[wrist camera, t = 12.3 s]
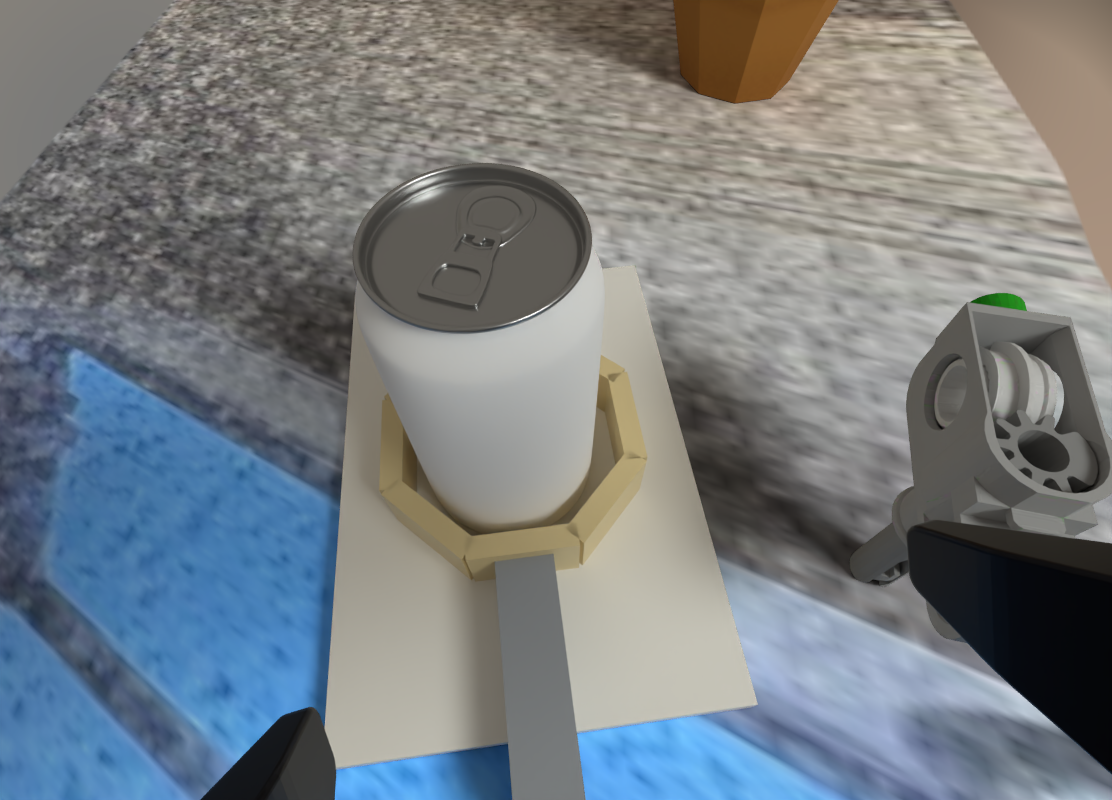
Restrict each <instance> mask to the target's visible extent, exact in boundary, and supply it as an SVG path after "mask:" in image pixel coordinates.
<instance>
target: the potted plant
mask: <svg viewBox="0 0 1112 800" xmlns="http://www.w3.org/2000/svg"><path fill="white" fill-rule="evenodd" d="M673 1H674V11H675V21H676V31H677V41H678V51H679V61H680V71H681V75H682V76H683V77H684V78H685V79H686V81H687V82H688V83H689V84H690V85H691V86H692V87H693V88H694V89H695V90H696V91H697V92H698V93H699V94H702V95H706V96H710V97H713V98H717V99H721V100H724V101H728V102H732V103H741V102H748V101H756V100H763V99H771V98H772V97H773V96H774V95H775V94H776V93H777V92H778V91H779V90H780V89H781V88H782V87H783V86H784V85H785V84H786V83H787V82H788V81H789V80H790V78H791V77H792V75H793V73H794V72H795V70H796V68H797V67H798V65H799V64H800V62H801V60H802V59H803V57H804V56H805V54H806V52H807V51H808V49H809V47H810V46H811V44H812V43H813V41H814V39H815V38H816V36H817V34H818V33H819V31H820V30H821V28H822V26H823V25H824V23H825V22H826V20H827V18H828V17H829V15H830V13H831V12H832V10H833V9H834V7H835V5H836V4H837V2H838V0H673Z"/></svg>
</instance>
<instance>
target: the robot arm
mask: <svg viewBox="0 0 1112 800" xmlns="http://www.w3.org/2000/svg"><path fill="white" fill-rule="evenodd" d="M906 539H907V553H908V567H909V576H910V579H911V581H912V583H913V585H914V587H915V588H916V590H917V591H918V592H919V593H920V594H921V595H922V596H923V597H924V598H925V600H926V601H927V602H928V603H929V604H930V605H931V606H932V607H933V608H934V609H935V610H936V611H937V612H938V613H939V614H940V615H941V616H942V617H943V618H944V619H945V620H946V621H947V622H948V623H949V624H950V626H951V627H952V628H953V629H954V630H955V631H956V632H957V633H958V634H959V635H960V636H961V637H962V638H963V639H964V640H965V641H966V642H967V643H968V644H969V645H970V646H971V647H972V648H973V649H974V650H975V652H976V653H977V654H978V655H979V656H980V657H981V658H982V659H983V660H984V661H985V662H986V663H987V664H988V665H989V666H990V667H991V668H992V669H993V670H994V671H995V672H997V673H998V674H999V675H1000V676H1001V677H1002V678H1003V679H1004V680H1005V681H1006V682H1007V683H1009V684H1010V685H1011V686H1012V687H1013V688H1014V689H1015V690H1016V691H1018V692H1019V693H1020V694H1021V695H1022V696H1023V697H1024V698H1025V699H1027V700H1028V701H1029V702H1030V703H1031V704H1032V705H1033V706H1035V707H1036V708H1037V709H1038V710H1039V711H1040V712H1041V713H1043V714H1044V715H1045V716H1046V717H1047V718H1048V719H1049V720H1050V721H1052V722H1053V723H1054V724H1055V725H1056V726H1057V727H1058V728H1060V729H1061V730H1062V731H1063V732H1064V733H1065V734H1066V735H1068V736H1069V737H1070V738H1071V739H1072V740H1073V741H1074V742H1075V743H1077V744H1078V745H1079V746H1080V747H1081V748H1082V749H1083V750H1085V751H1086V752H1087V753H1088V754H1089V755H1090V756H1091V757H1093V758H1094V759H1095V760H1096V761H1097V762H1098V763H1099V764H1100V765H1102V766H1103V767H1104V768H1105V769H1106V770H1107V771H1108V772H1110V773H1111V774H1112V544H1111V543H1104V542H1097V541H1090V540H1082V539H1075V538H1068V537H1060V536H1053V535H1046V534H1038V533H1031V532H1024V531H1016V530H1009V529H1002V528H994V527H987V526H980V525H973V524H965V523H958V522H951V521H943V520H930V521H926V522H923V523H920V524H916V525H913V526H911V527H910V528H909V529H908V531H907V534H906ZM335 784H336V764H335V758H334V754H333V751H332V749H331V746H330V743H329V740H328V737H327V735H326V732H325V729H324V726H323V723H322V721H321V718H320V715H319V713H318V712H317V710H316V709H314V708H312V707H308V708H305V709H301V710H298V711H295V712H291V713H288V714H285V715H283V716H281V717H280V718H279V719H278V720H277V721H276V722H275V723H274V724H273V725H272V726H271V727H270V728H269V729H268V730H267V731H266V732H265V734H264V735H263V736H262V737H261V738H260V739H259V740H258V741H257V742H256V743H255V744H254V745H253V746H252V747H251V748H250V749H249V750H248V751H247V752H246V753H245V754H244V755H243V756H242V757H241V758H240V759H239V760H238V761H237V762H236V763H235V764H234V766H233V767H232V768H231V769H230V770H229V771H228V772H227V773H226V774H225V775H224V776H223V777H222V778H221V779H220V780H219V781H218V782H217V783H216V784H215V785H214V786H213V787H212V788H211V789H210V790H209V791H208V792H207V793H206V794H205V795H204V796H203V798H202V799H201V800H334V799H335Z"/></svg>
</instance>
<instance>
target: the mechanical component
mask: <svg viewBox="0 0 1112 800" xmlns="http://www.w3.org/2000/svg"><path fill="white" fill-rule="evenodd" d="M1052 370H1053V371H1054V372H1056V373H1057V375H1058V376H1059V377H1060V379H1061V382H1062V384H1063V389H1064V405H1063V410H1062V414H1061V416H1060V419H1059V422H1058V423H1057V425H1056V427H1055V429H1054V422H1055V419H1054V417H1053V414H1054V410H1055V406H1056V401H1057V384H1056V379H1055V375H1054V373H1053V371H1052ZM906 412H907V422H908V432H909V441H910V451H911V461H912V471H913V480H914V486H913V487H910V488H908V489H906V490H904V491H903V492H901V493H900V494H899V495H898V496H897V498H896V499H895V501H894V503H893V507H892V523H891V524H890V525H888V526H887V527H886V528H885V529H883V530H882V531H881V532H879V533H878V534H877V535H876V536H874V537H873V538H872V539H870V540H869V541H868V542H867V543H865V544H864V545H863V546H861V547H860V548H859V549H858V550H856V551H855V552H854V553H853V554H852V556H851V558H850V569H851V572H852V574H853V576H854V577H855V578H856V580H859V581H861V582H866V583H868V582H870V581H871V580H873V579H875V580H879V586H881V587H886V586H888V585H890V584H892V583H893V582H895V581H897V580H898V579H900V578H902V577H903V576H905V575H907V574H908V573H909V567H908V553H907V539H906V534H907V531H908V529H909V528H910V527H911V526H913V525H916V524H920V523H923V522H926V521H930V520H943V521H951V522H958V523H965V524H973V525H980V526H987V527H994V528H1002V529H1009V530H1016V531H1024V532H1031V533H1038V534H1046V535H1053V536H1060V537H1068V538H1075V535H1077V534H1079V533H1082V532H1084V531H1086V530H1088V529H1090V528H1092V527H1094V526H1096V525H1098V523H1097V519H1096V515H1095V512H1094V508H1093V504H1095V503H1097V502H1098V501H1100V500H1102V499H1104V498H1106V497H1108V496H1109V495H1110V494H1111V493H1112V440H1111V439H1110V437H1109V436H1108V434H1107V433H1106V431H1105V428H1104V425H1103V421H1102V418H1101V415H1100V412H1099V408H1098V405H1097V402H1096V399H1095V395H1094V392H1093V389H1092V385H1091V382H1090V379H1089V376H1088V372H1087V369H1086V366H1085V363H1084V359H1083V356H1082V353H1081V350H1080V346H1079V343H1078V340H1077V336H1076V333H1075V330H1074V327H1073V323H1072V320H1071V318H1070V317H1064V316H1057V315H1050V314H1043V313H1036V312H1030V311H1027V310H1026V306H1025V302H1024V301H1023V300H1022V299H1021V298H1020V297H1018V296H1016V295H1013V294H1008V293H995V294H989V295H985V296H982V297H979V298H977V299H975V300H973V301H971V302H970V303H969V302H967V303H966V304H965V305H964V306H963V307H962V309H961V310H960V311H959V312H958V313H957V315H956V316H955V317H954V318H953V319H952V320H951V322H950V323H949V324H948V325H947V326H946V328H945V329H944V330H943V331H942V332H941V333H940V335H939V336H938V337H937V338H936V341H935V344H934V346H933V347H932V348H931V349H930V351H929V352H928V353H927V354H926V355H925V357H924V358H923V359H922V360H921V361H920V363H919V364H918V366H917V368H916V369H915V371H914V373H913V376H912V378H911V381H910V384H909V388H908V393H907V400H906ZM926 605H927V610H928V614H929V617H930V620H931V622H932V625H933V626H934V628H935V629H936V631H937V632H938V633H939V634H940V635H941V636H943V637H944V638H946V639H951V640H955V641H960V642H965V643H967V642H966V641H965V640H964V639H963V638H962V637H961V636H960V635H959V634H958V633H957V632H956V631H955V630H954V629H953V628H952V627H951V626H950V624H949V623H948V622H947V621H946V620H945V619H944V618H943V617H942V616H941V615H940V614H939V613H938V612H937V611H936V610H935V609H934V608H933V607H932V606H931V605H930V604H929V603H928V602H927V601H926Z"/></svg>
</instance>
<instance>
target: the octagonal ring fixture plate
mask: <svg viewBox="0 0 1112 800" xmlns="http://www.w3.org/2000/svg"><path fill="white" fill-rule="evenodd" d="M602 271H603V276H604V286H605V303H604V320H603V334H602V346H601V358H600V370H599V381H598V393H597V404H596V415H595V426H594V437H593V447H592V456H591V465H590V471H589V476H588V479H587V483H586V485H585V488H584V490H583V492H582V494H581V496H580V497H579V499H578V500H577V502H576V503H575V505H574V506H573V507H572V508H571V509H570V510H569V511H568V512H567V513H566V514H565V515H564V516H563V517H562V518H560V519H559V520H558V521H556V522H555V523H553V524H551V525H550V526H546V527H538V528H531V529H523V530H515V531H508V532H500V533H492V534H483V533H480V532H477V531H474V530H472V529H470V528H468V527H466V526H464V525H463V524H461V523H459V522H458V521H457V520H455V519H454V518H453V517H452V516H451V515H450V514H449V513H448V512H447V511H446V510H445V509H444V507H443V506H442V505H441V503H440V502H439V500H438V498H437V497H436V495H435V493H434V491H433V489H432V487H431V485H430V483H429V481H428V479H427V476H426V474H425V472H424V470H423V468H422V466H421V464H420V462H419V459H418V457H417V455H416V453H415V451H414V449H413V446H412V444H411V442H410V440H409V438H408V436H407V433H406V431H405V429H404V427H403V425H402V422H401V420H400V418H399V416H398V414H397V412H396V409H395V407H394V405H393V403H392V401H391V398H390V396H389V394H388V392H387V390H386V387H385V385H384V383H383V381H382V379H381V376H380V374H379V372H378V370H377V367H376V365H375V363H374V361H373V358H372V356H371V354H370V352H369V349H368V347H367V344H366V342H365V339H364V337H363V334H362V332H361V329H360V326H359V322H358V318H357V314H356V307H355V303H354V317H353V332H352V346H351V360H350V374H349V388H348V403H347V417H346V431H345V445H344V459H343V474H342V488H341V502H340V516H339V530H338V545H337V559H336V573H335V587H334V601H333V616H332V630H331V644H330V658H329V672H328V687H327V701H326V715H325V732H326V735H327V737H328V740H329V743H330V746H331V749H332V751H333V754H334V758H335V764H336V770H338V769H345V768H351V767H358V766H365V765H371V764H378V763H385V762H391V761H398V760H405V759H411V758H418V757H425V756H431V755H438V754H445V753H451V752H458V751H464V750H471V749H478V748H484V747H491V746H498V745H504V744H508V748H509V762H510V775H511V788H512V800H585V792H584V784H583V777H582V769H581V761H580V754H579V746H578V738H577V733H584V732H591V731H597V730H604V729H611V728H617V727H624V726H631V725H637V724H644V723H651V722H657V721H664V720H671V719H677V718H684V717H690V716H697V715H704V714H710V713H717V712H724V711H730V710H737V709H744V708H750V707H753V706H755V705H758V704H757V700H756V696H755V693H754V689H753V686H752V682H751V679H750V675H749V671H748V668H747V664H746V661H745V657H744V654H743V650H742V646H741V643H740V639H739V636H738V632H737V629H736V625H735V621H734V618H733V614H732V611H731V607H730V604H729V600H728V596H727V593H726V589H725V586H724V582H723V579H722V575H721V571H720V568H719V564H718V561H717V557H716V554H715V550H714V546H713V543H712V539H711V536H710V532H709V529H708V525H707V521H706V518H705V514H704V511H703V507H702V504H701V500H700V496H699V493H698V489H697V486H696V482H695V479H694V475H693V471H692V468H691V464H690V461H689V457H688V454H687V450H686V446H685V443H684V439H683V436H682V432H681V429H680V425H679V422H678V418H677V414H676V411H675V407H674V404H673V400H672V397H671V393H670V389H669V386H668V382H667V379H666V375H665V372H664V368H663V364H662V361H661V357H660V354H659V350H658V347H657V343H656V339H655V336H654V332H653V329H652V325H651V322H650V318H649V314H648V311H647V307H646V304H645V300H644V297H643V293H642V289H641V286H640V282H639V279H638V275H637V272H636V268H635V265H634V266H625V267H615V268H606V269H602Z"/></svg>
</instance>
